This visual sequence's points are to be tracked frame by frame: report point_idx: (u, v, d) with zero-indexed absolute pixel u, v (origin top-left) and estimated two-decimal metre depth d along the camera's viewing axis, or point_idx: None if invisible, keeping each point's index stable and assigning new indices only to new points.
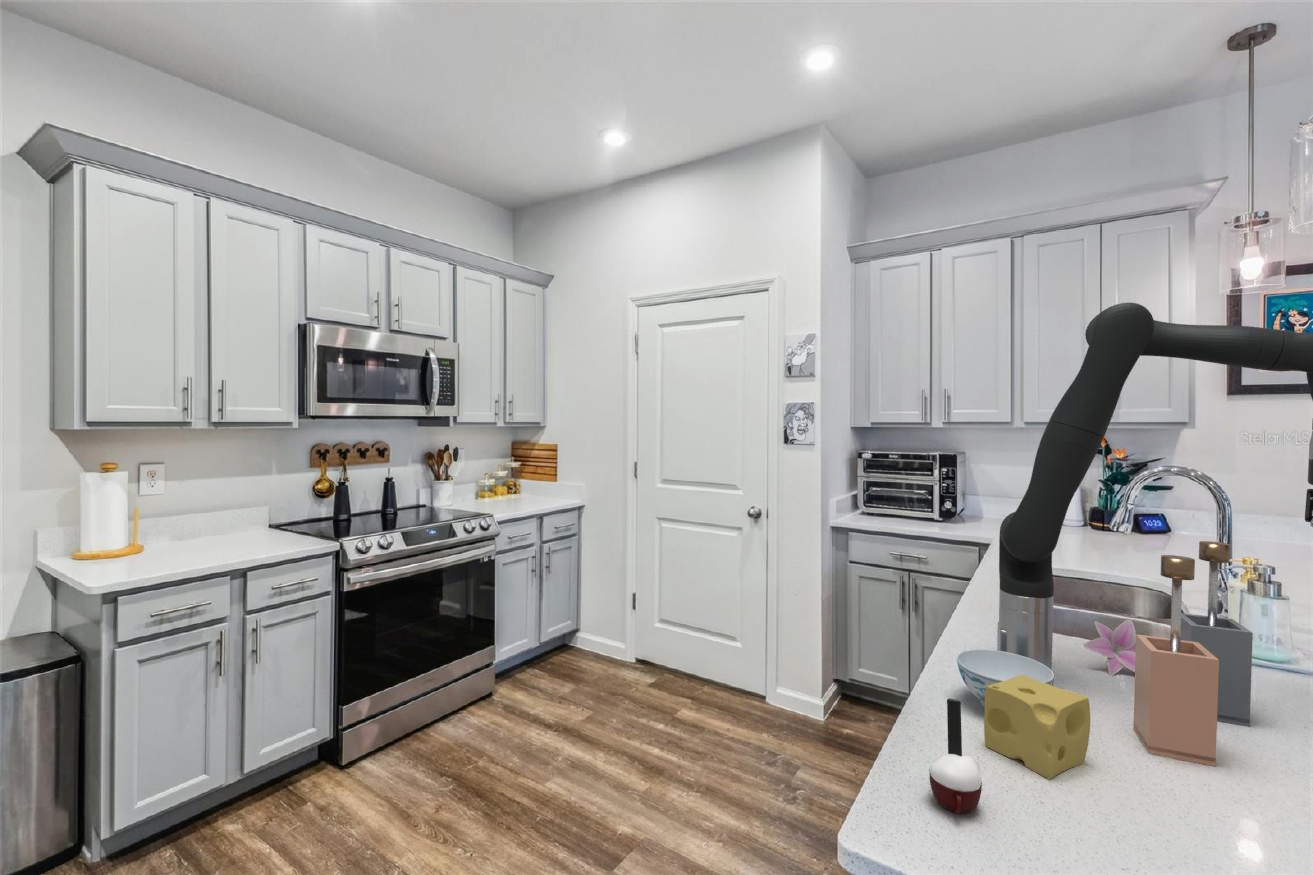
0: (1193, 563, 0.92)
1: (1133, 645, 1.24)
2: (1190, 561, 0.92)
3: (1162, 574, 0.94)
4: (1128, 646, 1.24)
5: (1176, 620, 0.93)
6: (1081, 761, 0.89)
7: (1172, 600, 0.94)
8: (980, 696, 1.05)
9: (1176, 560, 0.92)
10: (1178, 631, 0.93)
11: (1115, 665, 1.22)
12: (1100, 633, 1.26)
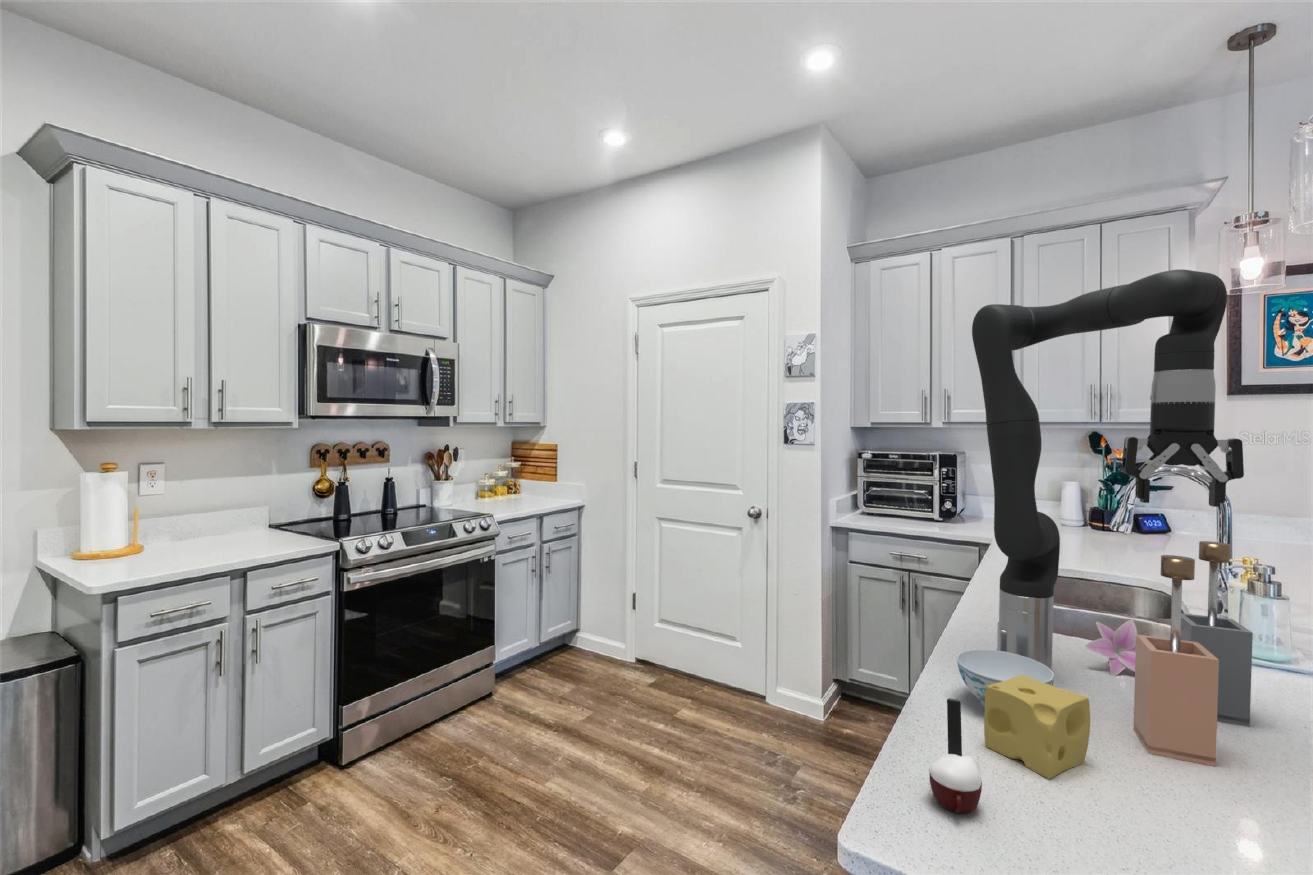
0: (1193, 563, 0.92)
1: (1135, 645, 1.23)
2: (1190, 561, 0.92)
3: (1162, 574, 0.94)
4: (1130, 646, 1.24)
5: (1176, 620, 0.93)
6: (1081, 761, 0.89)
7: (1172, 600, 0.94)
8: (980, 696, 1.05)
9: (1176, 560, 0.92)
10: (1178, 631, 0.93)
11: (1117, 666, 1.22)
12: (1102, 634, 1.26)
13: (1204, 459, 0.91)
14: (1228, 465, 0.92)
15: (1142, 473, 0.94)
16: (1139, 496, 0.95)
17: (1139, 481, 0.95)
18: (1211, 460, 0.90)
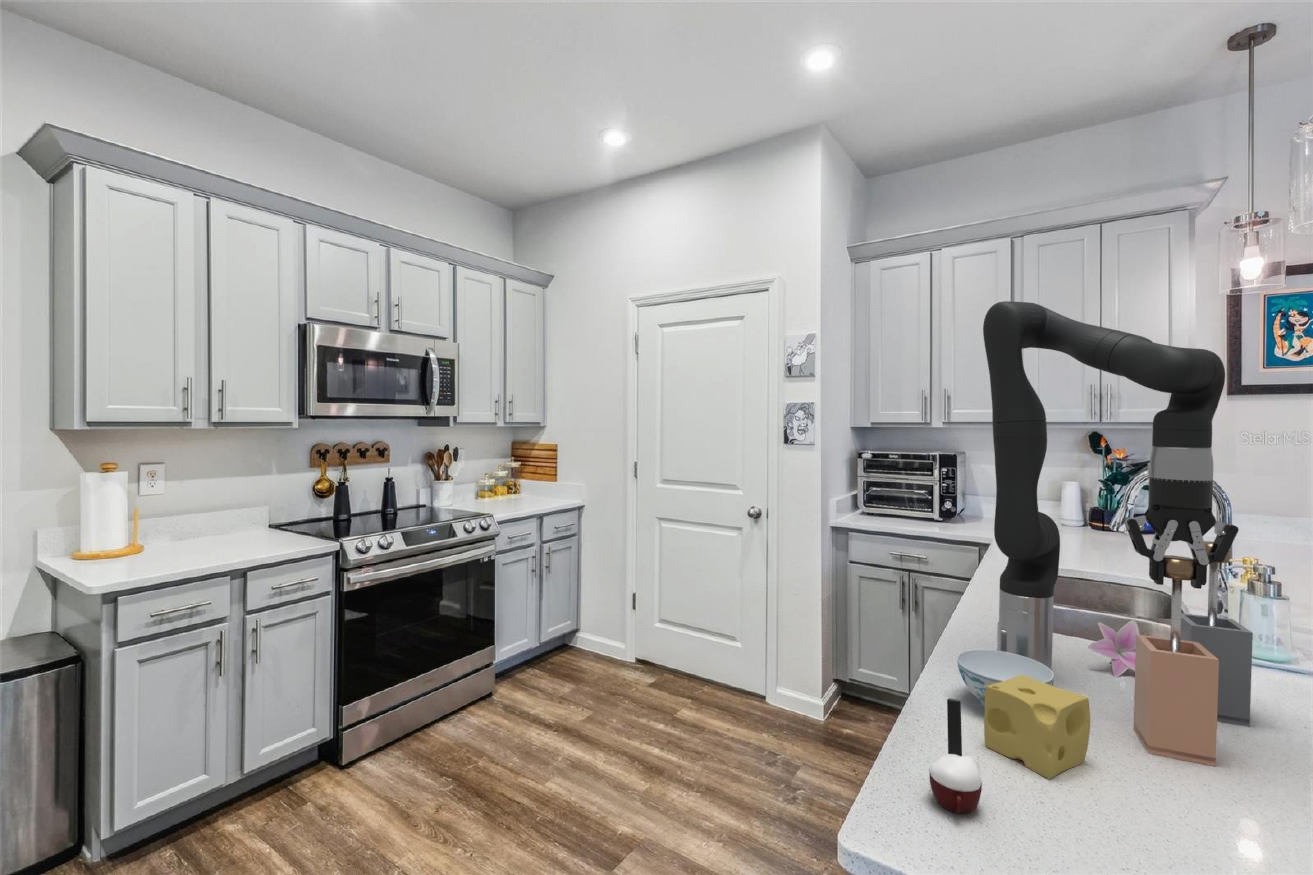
0: (1193, 563, 0.92)
1: None
2: (1190, 561, 0.92)
3: None
4: (1132, 647, 1.24)
5: (1176, 620, 0.93)
6: (1081, 761, 0.90)
7: (1172, 600, 0.94)
8: (980, 696, 1.05)
9: (1176, 560, 0.92)
10: (1178, 631, 0.93)
11: (1119, 666, 1.22)
12: (1104, 634, 1.25)
13: (1196, 538, 0.91)
14: (1213, 547, 0.92)
15: (1155, 556, 0.94)
16: (1153, 578, 0.95)
17: (1153, 563, 0.94)
18: (1202, 541, 0.91)
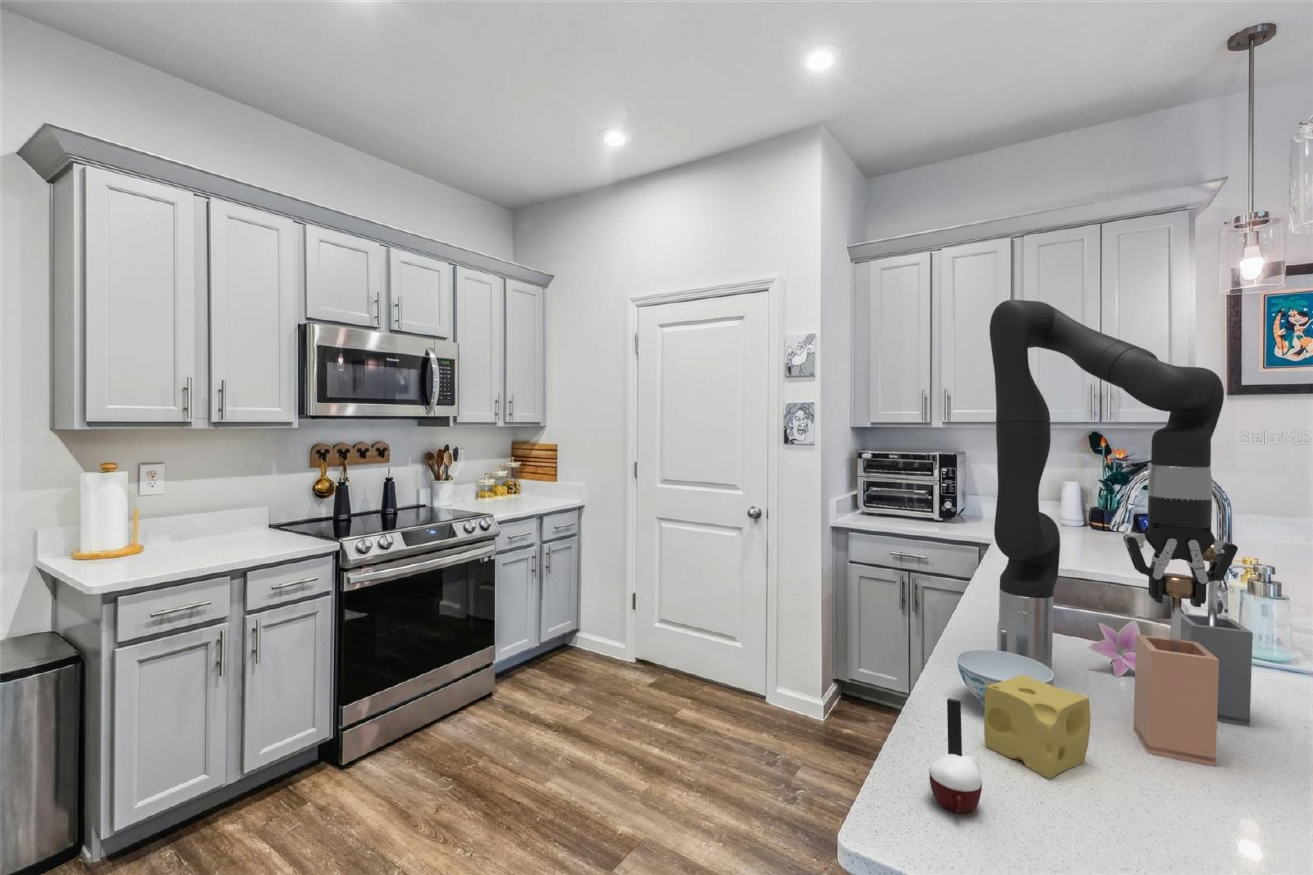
0: (1192, 582, 0.92)
1: None
2: (1189, 580, 0.92)
3: None
4: (1133, 647, 1.24)
5: (1176, 638, 0.93)
6: (1081, 761, 0.90)
7: (1171, 618, 0.94)
8: (980, 696, 1.05)
9: (1175, 579, 0.92)
10: (1177, 649, 0.94)
11: (1120, 667, 1.22)
12: (1105, 635, 1.25)
13: (1195, 557, 0.91)
14: (1213, 565, 0.92)
15: (1155, 574, 0.94)
16: (1152, 596, 0.95)
17: (1152, 581, 0.95)
18: (1201, 560, 0.91)
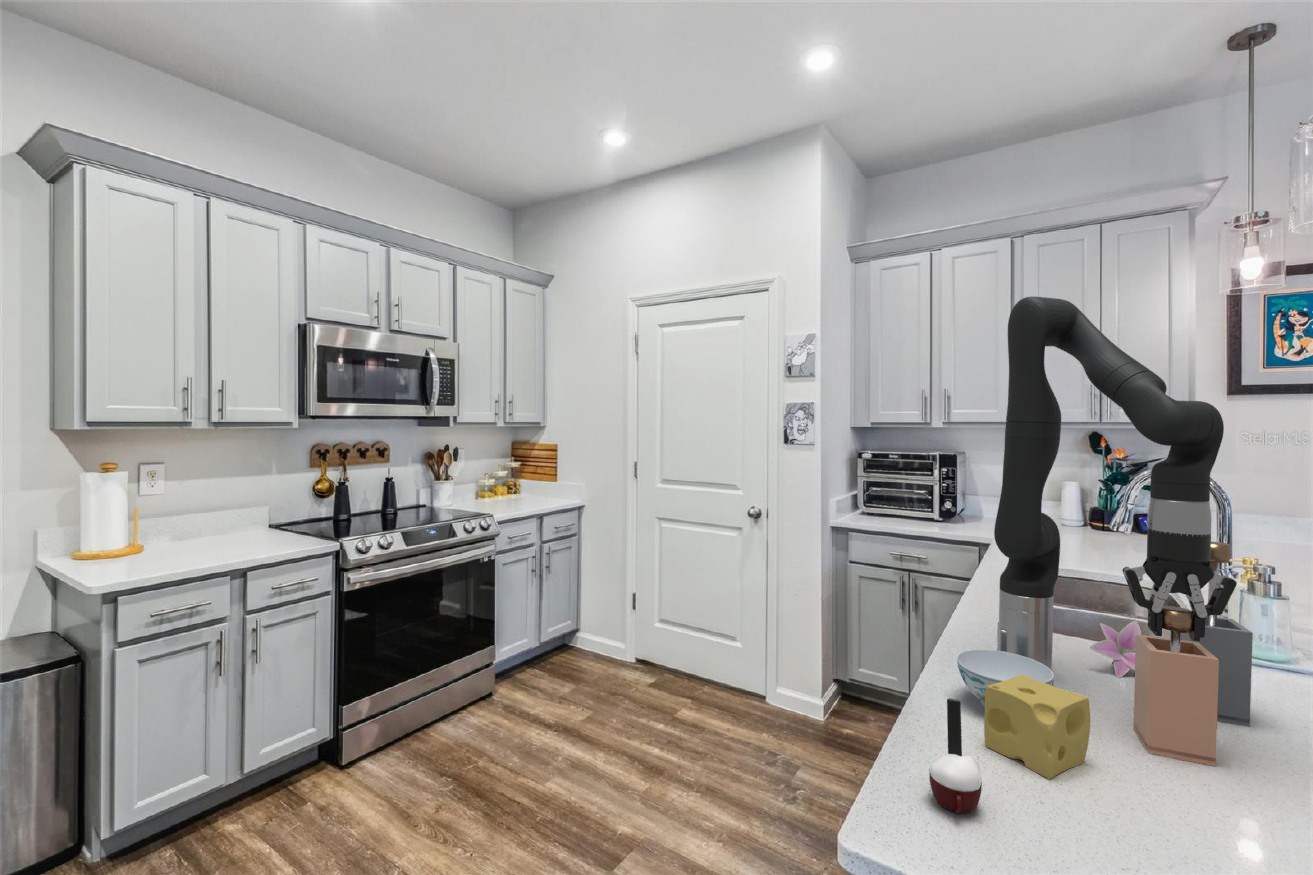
0: (1191, 616, 0.92)
1: None
2: (1188, 614, 0.92)
3: None
4: (1134, 647, 1.23)
5: None
6: (1081, 761, 0.90)
7: None
8: (980, 696, 1.05)
9: (1174, 613, 0.93)
10: None
11: (1121, 667, 1.21)
12: (1106, 635, 1.25)
13: (1194, 591, 0.92)
14: (1212, 599, 0.93)
15: (1154, 607, 0.94)
16: (1151, 629, 0.95)
17: (1151, 614, 0.95)
18: (1200, 594, 0.91)
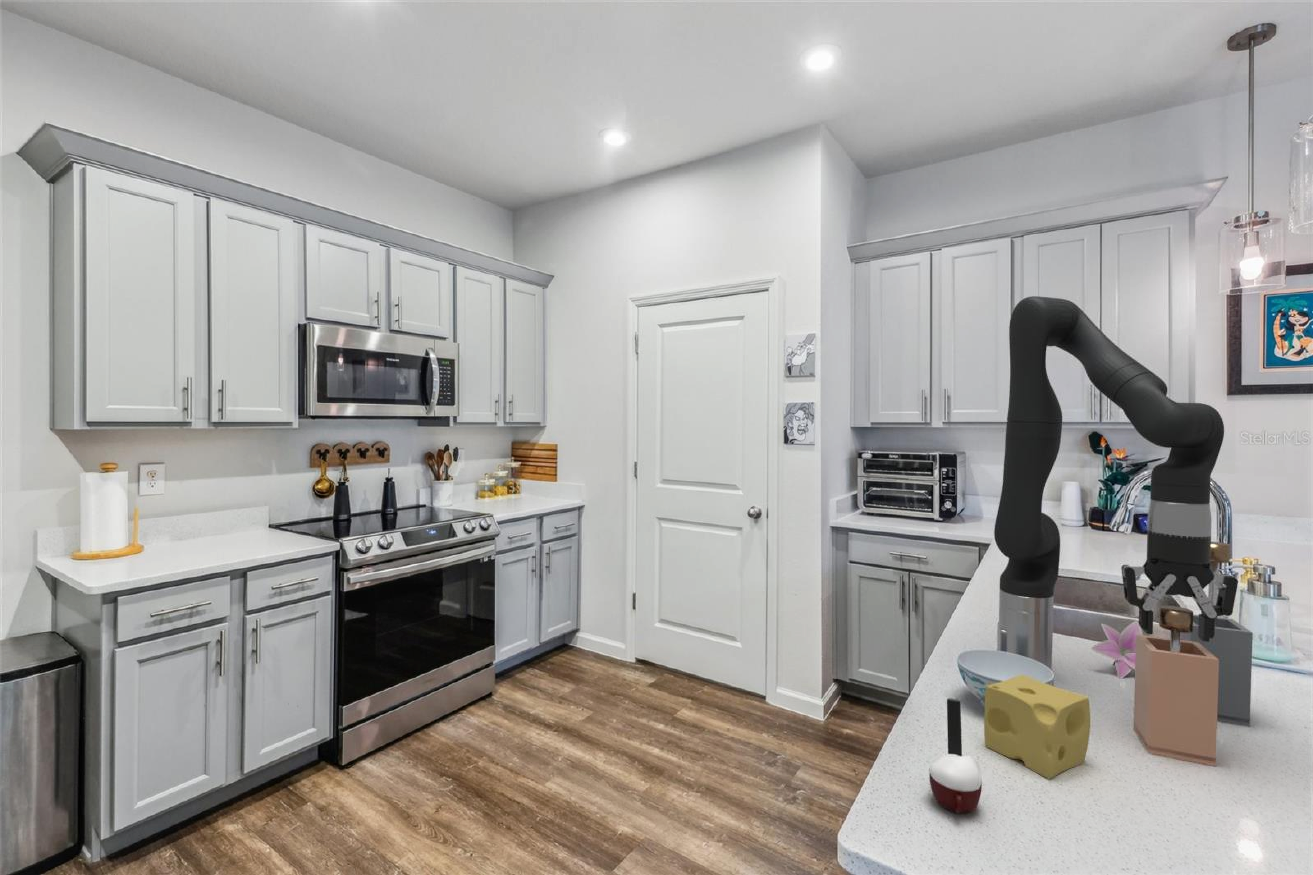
0: (1191, 615, 0.92)
1: None
2: (1188, 614, 0.92)
3: (1161, 625, 0.94)
4: None
5: None
6: (1081, 761, 0.90)
7: (1171, 651, 0.94)
8: (980, 696, 1.05)
9: (1174, 612, 0.93)
10: None
11: (1123, 668, 1.21)
12: (1107, 635, 1.24)
13: (1198, 593, 0.91)
14: (1219, 599, 0.92)
15: (1145, 605, 0.95)
16: (1142, 627, 0.95)
17: (1142, 612, 0.95)
18: (1204, 595, 0.91)
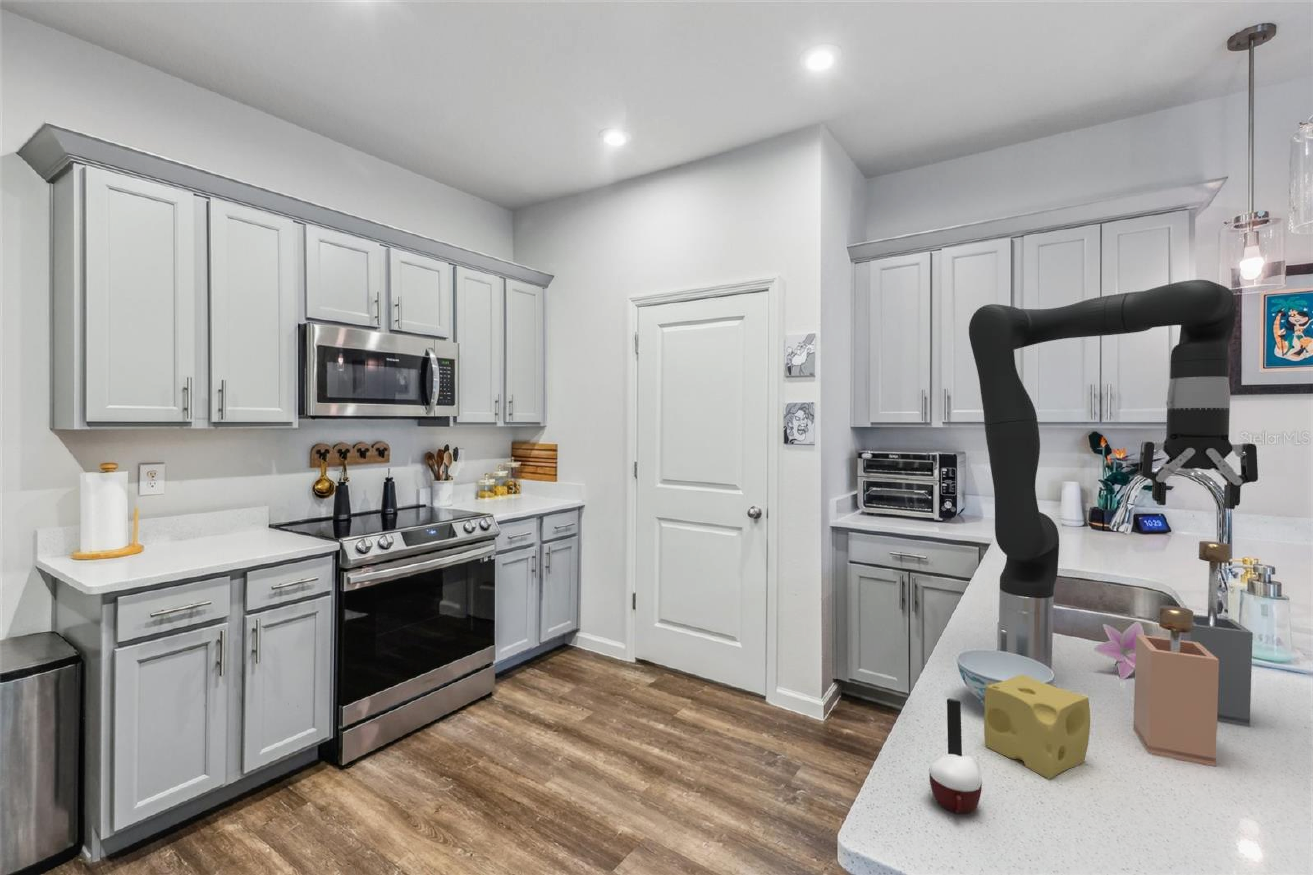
0: (1191, 615, 0.92)
1: None
2: (1188, 614, 0.92)
3: (1161, 625, 0.94)
4: None
5: None
6: (1081, 761, 0.90)
7: (1171, 651, 0.94)
8: (980, 696, 1.05)
9: (1174, 612, 0.93)
10: None
11: (1125, 669, 1.21)
12: (1109, 636, 1.24)
13: (1219, 463, 0.94)
14: (1243, 469, 0.95)
15: (1158, 476, 0.98)
16: (1156, 499, 0.99)
17: (1156, 484, 0.99)
18: (1226, 464, 0.94)
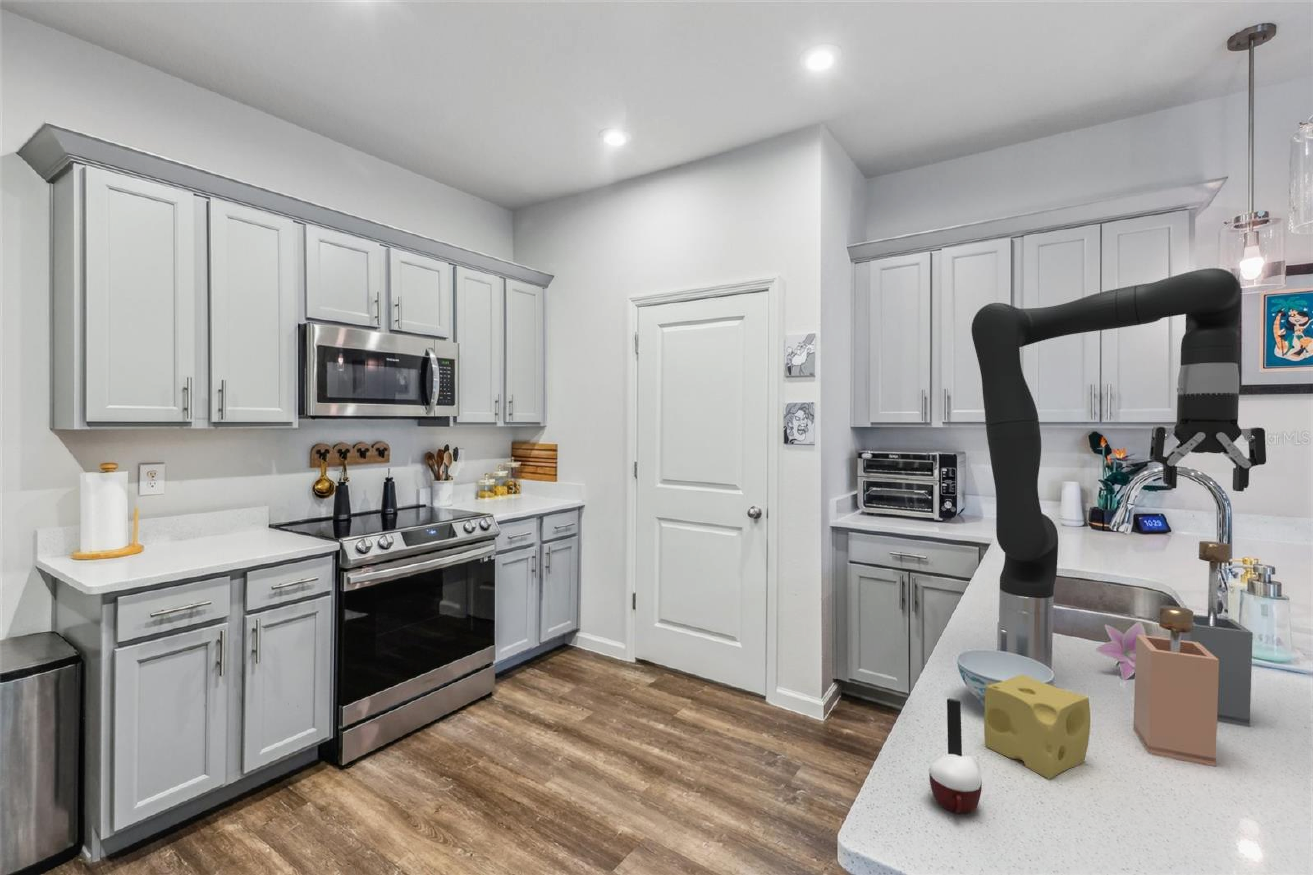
0: (1191, 615, 0.92)
1: None
2: (1188, 614, 0.92)
3: (1161, 625, 0.94)
4: None
5: None
6: (1081, 761, 0.90)
7: (1171, 651, 0.94)
8: (980, 696, 1.05)
9: (1174, 612, 0.93)
10: None
11: (1127, 669, 1.20)
12: (1111, 637, 1.24)
13: (1229, 447, 0.97)
14: (1251, 452, 0.98)
15: (1170, 460, 1.01)
16: (1167, 482, 1.01)
17: (1167, 468, 1.01)
18: (1235, 448, 0.97)
